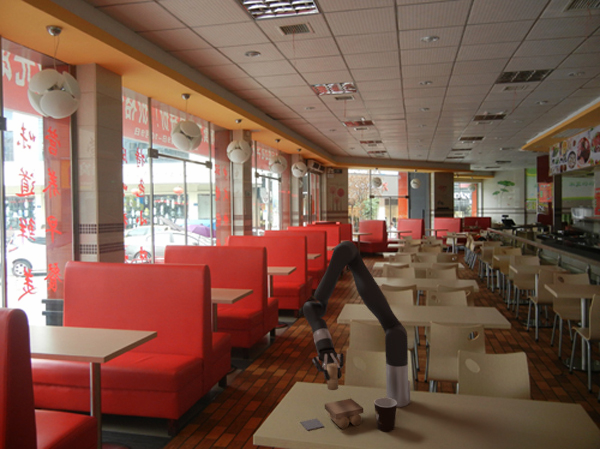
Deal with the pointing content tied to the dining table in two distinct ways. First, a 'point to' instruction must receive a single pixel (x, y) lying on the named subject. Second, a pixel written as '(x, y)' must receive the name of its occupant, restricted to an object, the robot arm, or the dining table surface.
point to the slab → (344, 412)
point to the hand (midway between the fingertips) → (334, 378)
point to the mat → (312, 424)
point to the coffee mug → (385, 413)
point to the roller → (332, 376)
